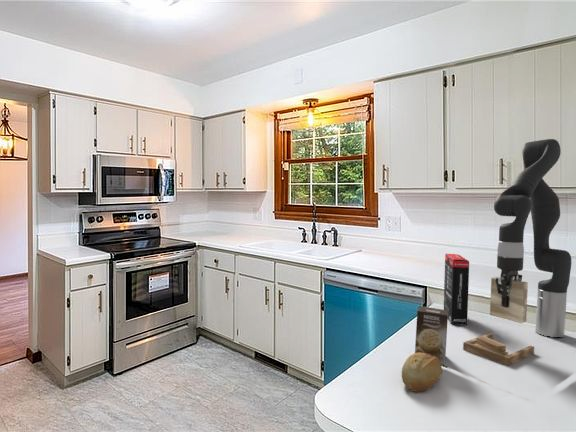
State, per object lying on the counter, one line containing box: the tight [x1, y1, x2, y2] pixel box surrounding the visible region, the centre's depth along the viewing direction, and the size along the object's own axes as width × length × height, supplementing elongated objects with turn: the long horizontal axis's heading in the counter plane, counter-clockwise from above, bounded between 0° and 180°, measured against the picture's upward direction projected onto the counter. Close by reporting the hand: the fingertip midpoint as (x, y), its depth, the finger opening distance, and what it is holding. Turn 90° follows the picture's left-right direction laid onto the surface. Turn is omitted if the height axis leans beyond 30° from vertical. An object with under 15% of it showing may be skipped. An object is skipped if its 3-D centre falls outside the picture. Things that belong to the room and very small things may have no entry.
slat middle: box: [474, 343, 509, 356], centre depth 121 cm, size 4×9×2 cm, turn 33°
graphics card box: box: [443, 253, 470, 326], centre depth 160 cm, size 17×7×27 cm, turn 168°
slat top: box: [476, 336, 507, 353], centre depth 121 cm, size 4×8×2 cm, turn 21°
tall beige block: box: [489, 276, 529, 324], centre depth 126 cm, size 4×10×13 cm, turn 35°
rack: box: [462, 332, 535, 367], centre depth 124 cm, size 17×14×4 cm
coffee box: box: [414, 305, 449, 367], centre depth 118 cm, size 9×6×16 cm
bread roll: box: [401, 352, 443, 393], centre depth 103 cm, size 10×15×8 cm, turn 143°
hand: (508, 305), depth 126 cm, fingers closed on tall beige block, 3 cm apart
